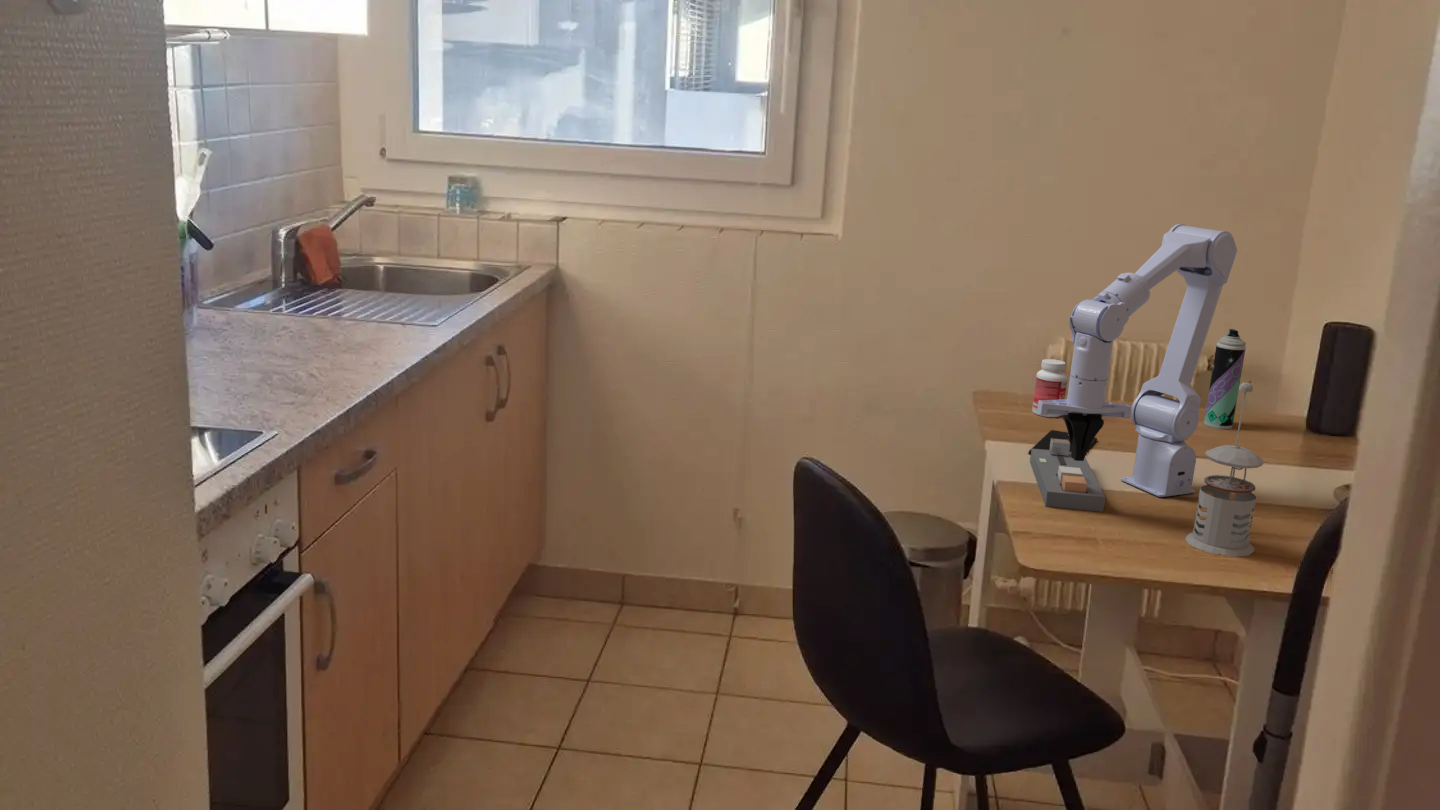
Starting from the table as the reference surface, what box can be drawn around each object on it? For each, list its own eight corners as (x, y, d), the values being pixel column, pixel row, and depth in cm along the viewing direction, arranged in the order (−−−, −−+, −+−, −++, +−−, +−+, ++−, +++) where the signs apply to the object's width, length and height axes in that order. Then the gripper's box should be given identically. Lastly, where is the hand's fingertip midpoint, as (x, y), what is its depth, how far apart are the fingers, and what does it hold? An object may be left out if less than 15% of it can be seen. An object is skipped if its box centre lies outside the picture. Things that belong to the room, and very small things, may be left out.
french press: (1177, 544, 186) (1203, 382, 180) (1196, 524, 196) (1222, 369, 189) (1246, 561, 181) (1276, 395, 175) (1263, 539, 191) (1291, 381, 184)
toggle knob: (1068, 455, 219) (1070, 443, 218) (1051, 454, 219) (1052, 442, 218) (1066, 451, 221) (1068, 439, 220) (1049, 450, 221) (1050, 438, 221)
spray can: (1197, 423, 256) (1213, 327, 251) (1217, 421, 258) (1233, 326, 253) (1218, 430, 251) (1234, 332, 246) (1238, 428, 253) (1254, 331, 248)
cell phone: (1097, 442, 239) (1097, 437, 239) (1076, 465, 224) (1076, 460, 223) (1050, 434, 243) (1051, 429, 243) (1027, 456, 228) (1027, 451, 227)
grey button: (1080, 488, 205) (1082, 474, 204) (1059, 486, 205) (1061, 472, 205) (1077, 481, 208) (1079, 468, 208) (1057, 479, 209) (1058, 466, 208)
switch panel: (1103, 511, 199) (1105, 496, 198) (1045, 506, 200) (1047, 490, 199) (1081, 466, 222) (1083, 452, 221) (1029, 461, 223) (1031, 448, 222)
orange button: (1085, 498, 200) (1087, 483, 199) (1063, 495, 200) (1065, 481, 200) (1082, 491, 203) (1084, 477, 203) (1060, 489, 204) (1062, 475, 203)
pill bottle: (1062, 419, 253) (1069, 366, 250) (1031, 415, 254) (1037, 362, 251) (1062, 412, 258) (1069, 360, 255) (1032, 408, 260) (1038, 356, 257)
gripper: (1124, 372, 201) (1112, 453, 205) (1036, 368, 200) (1025, 449, 204) (1141, 383, 194) (1128, 466, 198) (1049, 379, 193) (1038, 463, 197)
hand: (1077, 459), depth 200 cm, fingers closed
